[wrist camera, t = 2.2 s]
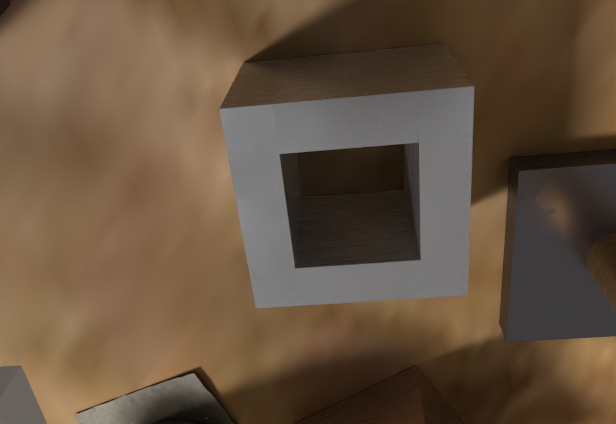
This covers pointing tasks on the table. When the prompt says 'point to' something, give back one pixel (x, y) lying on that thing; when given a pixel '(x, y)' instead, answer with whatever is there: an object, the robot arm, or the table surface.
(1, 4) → the figurine
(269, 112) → the grey hollow block
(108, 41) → the table surface
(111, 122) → the table surface
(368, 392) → the link
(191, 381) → the condiment
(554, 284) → the keeper
